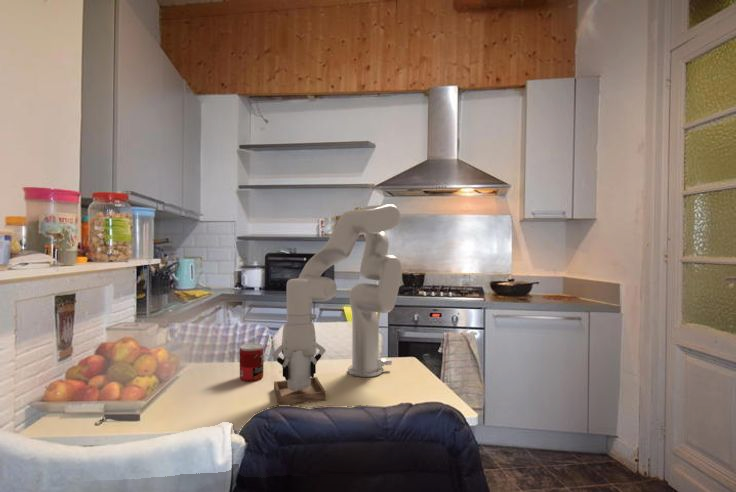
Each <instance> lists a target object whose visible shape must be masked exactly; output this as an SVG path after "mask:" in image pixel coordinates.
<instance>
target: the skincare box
mask: <svg viewBox="0 0 736 492" xmlns="http://www.w3.org/2000/svg"><path fill="white" fill-rule="evenodd" d="M311 378H312V377H311V358H310V357H303V354H302V351H293V357H292V358H290V360H289V362H288V389H290V390H293V391H299V390H301V389H304V388H307V387H309V386H311Z"/></svg>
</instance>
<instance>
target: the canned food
mask: <svg viewBox="0 0 736 492" xmlns="http://www.w3.org/2000/svg"><path fill="white" fill-rule="evenodd" d="M263 378H264V345H263V344H262V343H258V342H257V343H252V342H251V343H244V344H242V345H240V346H239V379H240V380H241V381H243V382H246V383H247V382H249V383H252V382H257V381H261V380H262V379H263Z"/></svg>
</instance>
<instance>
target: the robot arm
mask: <svg viewBox="0 0 736 492" xmlns="http://www.w3.org/2000/svg"><path fill="white" fill-rule="evenodd" d="M400 220H401V213H400V209H399V208H398V207H397V206H396V205H394V204H373V205H367V206H366V205H365V206H362V207H361V208H360V209H351V210H348V211H345V212H343V213H342V214H341V216H340V218H339V220H338V222H337V223H336V225H335V227H334V229H333V231H332V232H331V234H330V237H329V238H328V240H327V243H326V244H325V245H324V246H323V247H322V248H320V249H319V250H318V251H317V252H316V253H315V254H314V255H313V256H312V257H310V259H309V260H308V261H307V262H306V263H305V265H304V266H303V268H302V270H301V272H300V273H299V276H298V278H290V279H288V280H287V282H286V323H284V324H283V327H282V334H281V337H282V338H281V345H280V346H278V347H277V348H276V349H275V350H273V352H272V353H271V356H272V358H274V359H275V361H277V363H278V364H280V366H282V377H283V378H285V380H288V366H287V364H288V362H289V360H290V358H292V357H293V351H302V354H303V357H310V358H311V378H313V377H315V374H316V371H317V369H316V368H317V367H316V365H317V363H318V362H319V360H321V358H322V356H323V355H324V354H325V353H326V351H327V350H326V349H325V348H324V346H322V345H321V344H319V343H318V342H317V336H316V330H315V329H316V328H315V324H314V322H313V321H314V320H317V314H313V313H312V302H313V301H314V302H326V301H330V300H331V299H333V298H334V297H335V295H336V294H337V289H338V288H337V284H336V283H335V281H334V280H333V279H332V278H329V277H326V276H322V275H323V273H324V272H325V271H326V270H328V269H329V268H331V267H332V266H334V265H337V264H339V263H341V262H343V261H344V260H347V259H348V258H349V257H350V255H351V252H352V250H353V249H354V246H355V245H356V242H357V241H358V238H359V237H360V236H361V235H362V236H363V235H365V243H364V244H365V246H364V251H363V254H362V259H361V263H360V269H359V273H360V276H361V277H362V278H363V279H364V280H366V281H367V280H368V281H372V282H373V281H374V282H379V283H378V284H376V283H368V282H367V283H366V282H361V283H358V284H357V283H356V284H355V285H354V286H353V287H352V288H351V289H350V292H349V297H348V298H349V305H350V309H351V310H350V311H351V319H352V320H351V321H352V322H351V327H352V328H351V329H352V332H351V333H352V334H351V335H352V336H351V339H352V341H351V344H352V345H351V346H352V347H351V349H352V350H351V351H352V352H351V353H352V355H351V357H352V358H351V362H352V363H351V365H350V366H348V368H347V372H348V374H349V375H352V376H353V377H354V376H355V377H360V378H370V377H377V376H379V375H380V376H381V374H382V373H384V366H391V365H392V359H386V358H380V357H379V355H380V354H379V353H380V352H379V351H380V347H379V346H380V345H379V343H380V342H379V341H380V339H379V337H380V335H379V334H380V331H379V329H380V322H379V318H378V315H377V313H379V314H388V313H390V312H391V311H392V310H393V309H394V308H395V306H396V303H397V299H398V293H399V291H400V290H399V289H400V284H401V280H402V276H403V275H402V274H403V268H402V263H401V261H400V259H399V258H398V257H396V255H395V256H394V255H391V254H388V250H389V246H390V245H389V243H390V242H389V238H388V236H387V234H386V231H388V230H392V229H394V228H396V227H397V226H398V225H399V223H400ZM317 350H318V353H317ZM280 353H281V354H282V355H283V358H282V357H280V356H279V354H280Z"/></svg>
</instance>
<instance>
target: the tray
mask: <svg viewBox="0 0 736 492" xmlns="http://www.w3.org/2000/svg"><path fill="white" fill-rule="evenodd" d="M273 391H274V394H275V398H276V402H277V405H287V406H293V405H299V404H300V405H302V404H309V403H315V402H316V403H317V402H324V401H327V391H326V390H325V388H324V386H323V384H321V382H320V380H319V379H318V376H314V377H313V378H312V377H311V386H309V387H307V388H304V389H301V390H299V391H293V390H290V389H288V380H286V379H285V380H279V381H278V380H276V381H273Z"/></svg>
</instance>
